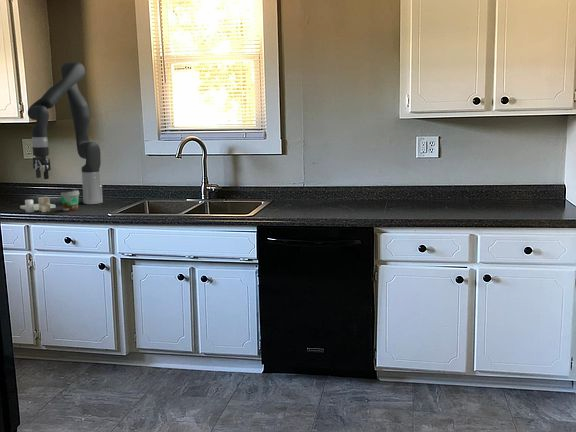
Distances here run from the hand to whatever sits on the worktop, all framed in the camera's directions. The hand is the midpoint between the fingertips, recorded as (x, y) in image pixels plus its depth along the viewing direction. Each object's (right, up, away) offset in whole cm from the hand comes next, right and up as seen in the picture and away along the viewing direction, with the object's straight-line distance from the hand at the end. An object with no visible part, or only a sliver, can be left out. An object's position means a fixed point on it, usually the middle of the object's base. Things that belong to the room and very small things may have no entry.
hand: (42, 178), depth 334 cm
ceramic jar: (-7, -17, +1) cm, 18 cm away
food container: (+14, -16, +4) cm, 22 cm away
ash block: (0, -16, +3) cm, 17 cm away
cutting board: (-7, -15, +13) cm, 21 cm away
